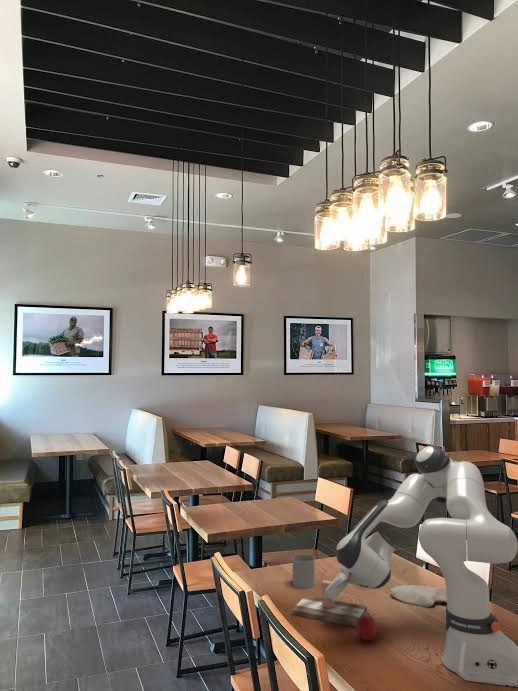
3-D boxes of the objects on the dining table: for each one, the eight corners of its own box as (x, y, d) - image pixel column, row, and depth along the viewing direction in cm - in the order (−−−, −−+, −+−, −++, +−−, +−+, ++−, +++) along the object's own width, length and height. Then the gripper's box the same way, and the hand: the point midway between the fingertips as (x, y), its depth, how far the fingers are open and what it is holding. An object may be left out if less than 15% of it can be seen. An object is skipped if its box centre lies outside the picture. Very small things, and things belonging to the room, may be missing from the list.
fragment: (455, 609, 189) (453, 595, 189) (396, 614, 190) (395, 600, 190) (442, 589, 204) (441, 576, 204) (388, 594, 205) (387, 580, 205)
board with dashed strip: (367, 610, 187) (367, 605, 187) (356, 627, 174) (356, 621, 174) (306, 599, 196) (306, 594, 196) (292, 614, 183) (292, 609, 183)
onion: (372, 647, 161) (372, 618, 161) (353, 642, 164) (353, 614, 164) (379, 639, 166) (378, 612, 166) (361, 634, 169) (360, 607, 169)
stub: (332, 605, 186) (332, 581, 187) (330, 608, 184) (330, 583, 184) (324, 604, 187) (324, 579, 188) (322, 606, 185) (321, 582, 186)
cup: (313, 589, 206) (313, 562, 207) (291, 587, 208) (291, 560, 209) (315, 581, 214) (315, 555, 215) (294, 580, 216) (294, 554, 217)
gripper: (352, 587, 172) (323, 614, 176) (367, 567, 191) (340, 592, 194) (339, 571, 174) (309, 598, 178) (354, 553, 193) (327, 577, 196)
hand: (325, 594), depth 186 cm, fingers closed on stub, 2 cm apart
